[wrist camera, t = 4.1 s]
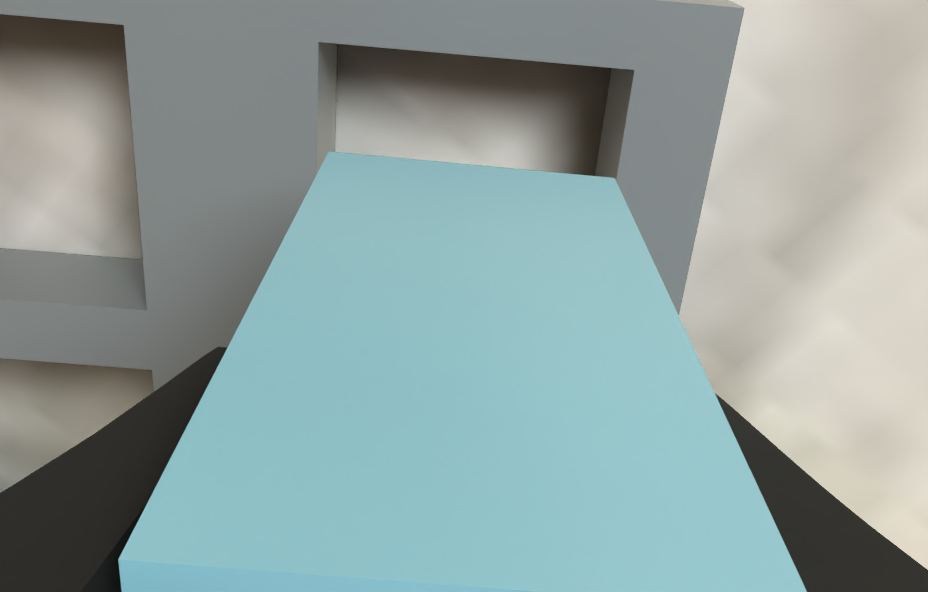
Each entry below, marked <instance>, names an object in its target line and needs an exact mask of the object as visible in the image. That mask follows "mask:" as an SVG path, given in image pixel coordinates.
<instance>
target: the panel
mask: <svg viewBox="0 0 928 592" xmlns="http://www.w3.org/2000/svg"><path fill="white" fill-rule="evenodd" d="M743 12H744V8H743V7H741V6H739V5H737V4H735V3H733V2H731V1H729V0H0V14H5V15H17V16H28V17H39V18H51V19H62V20H73V21H85V22H96V23H107V24H119V25H124V36H125V48H126V60H127V72H128V85H129V97H130V109H131V121H132V133H133V146H134V158H135V170H136V182H137V195H138V207H139V219H140V231H141V243H142V256H143V260H139V259H127V258H115V257H102V256H90V255H78V254H65V253H53V252H41V251H28V250H16V249H4V248H0V358H4V359H17V360H30V361H43V362H55V363H68V364H81V365H94V366H107V367H119V368H132V369H145V370H152V378H153V390H154V392H155V391H156V390H157V389H159V388H160V387H162V386H163V385H164V384H166V383H167V382H168V381H170V380H171V379H172V378H174V377H175V376H177V375H178V374H179V373H181V372H182V371H183V370H185V369H186V368H188V367H189V366H190V365H192V364H193V363H194V362H196V361H197V360H199V359H200V358H201V357H203V356H204V355H206V354H207V353H209V352H210V351H212V350H213V349H215V348H217V347H228V346H229V344H230V342H231V340H232V338H233V336H234V334H235V332H236V330H237V328H238V326H239V324H240V323H241V321H242V319H243V317H244V315H245V313H246V311H247V309H248V307H249V305H250V303H251V301H252V299H253V297H254V295H255V293H256V292H257V290H258V288H259V286H260V284H261V282H262V280H263V278H264V276H265V274H266V272H267V270H268V268H269V266H270V264H271V262H272V260H273V259H274V257H275V255H276V253H277V251H278V249H279V247H280V245H281V243H282V241H283V239H284V237H285V235H286V233H287V231H288V229H289V227H290V226H291V224H292V222H293V220H294V218H295V216H296V214H297V212H298V210H299V208H300V206H301V204H302V202H303V200H304V198H305V196H306V195H307V193H308V191H309V189H310V187H311V185H312V183H313V181H314V179H315V177H316V175H317V173H318V171H319V169H320V167H321V165H322V163H323V162H324V160H325V158H326V156H327V154H328V152H335V133H336V85H337V44H346V45H357V46H369V47H380V48H391V49H403V50H414V51H425V52H437V53H448V54H459V55H471V56H482V57H493V58H505V59H516V60H527V61H539V62H550V63H562V64H573V65H584V66H596V67H607V68H612V69H611V76H610V82H609V89H608V95H607V102H606V108H605V114H604V121H603V127H602V134H601V140H600V147H599V153H598V160H597V166H596V172H595V176H600V177H611V178H615V180H616V182H617V184H618V186H619V188H620V191H621V193H622V195H623V197H624V199H625V201H626V203H627V206H628V208H629V210H630V212H631V214H632V216H633V218H634V221H635V223H636V225H637V227H638V229H639V231H640V234H641V236H642V238H643V240H644V242H645V244H646V246H647V249H648V251H649V253H650V255H651V257H652V259H653V262H654V264H655V266H656V268H657V270H658V272H659V274H660V277H661V279H662V281H663V283H664V285H665V287H666V290H667V292H668V294H669V296H670V298H671V300H672V302H673V305H674V307H675V309H676V311H677V313H678V315H679V311H680V307H681V302H682V297H683V293H684V288H685V283H686V279H687V274H688V269H689V265H690V260H691V255H692V251H693V246H694V241H695V237H696V232H697V227H698V223H699V218H700V213H701V209H702V204H703V199H704V195H705V190H706V185H707V181H708V176H709V171H710V167H711V162H712V157H713V153H714V148H715V143H716V139H717V134H718V129H719V125H720V120H721V115H722V110H723V106H724V101H725V96H726V92H727V87H728V82H729V78H730V73H731V68H732V64H733V59H734V54H735V50H736V45H737V40H738V36H739V31H740V26H741V22H742V17H743Z"/></svg>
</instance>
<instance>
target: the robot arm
mask: <svg viewBox="0 0 928 592" xmlns="http://www.w3.org/2000/svg"><path fill="white" fill-rule="evenodd" d="M227 348H228V347H217V348H215V349H213V350H212V351H210V352H209V353H207V354H206V355H204V356H203V357H201V358H200V359H199V360H197V361H196V362H194V363H193V364H192V365H190V366H189V367H188V368H186V369H185V370H183V371H182V372H181V373H179V374H178V375H177V376H175V377H174V378H172V379H171V380H170V381H168V382H167V383H166V384H164V385H163V386H162V387H160V388H159V389H157V390H156V391H155V392H153V393H152V394H151V395H149V396H148V397H146V398H145V399H143V400H142V401H141V402H139V403H138V404H136V405H135V406H133V407H132V408H131V409H129V410H128V411H126V412H125V413H123V414H122V415H121V416H119V417H118V418H116V419H115V420H114V421H112V422H111V423H109V424H108V425H106V426H105V427H104V428H102V429H101V430H99V431H98V432H96V433H95V434H93V435H92V436H90V437H89V438H87V439H86V440H84V441H83V442H81V443H79V444H78V445H76V446H75V447H73V448H71V449H70V450H68V451H67V452H65V453H64V454H62V455H60V456H59V457H57V458H56V459H54V460H52V461H51V462H49V463H48V464H46V465H45V466H43V467H41V468H40V469H38V470H37V471H35V472H33V473H32V474H30V475H29V476H27V477H25V478H24V479H22V480H21V481H19V482H18V483H16V484H14V485H13V486H11V487H10V488H8V489H6V490H5V491H3V492H1V493H0V592H122V590H121V581H120V571H119V561H118V559H119V557H120V555H121V553H122V551H123V549H124V548H125V546H126V544H127V542H128V540H129V538H130V536H131V534H132V532H133V530H134V528H135V526H136V524H137V522H138V520H139V518H140V516H141V515H142V513H143V511H144V509H145V507H146V505H147V503H148V501H149V499H150V497H151V495H152V493H153V491H154V489H155V487H156V485H157V484H158V482H159V480H160V478H161V476H162V474H163V472H164V470H165V468H166V466H167V464H168V462H169V460H170V458H171V456H172V454H173V452H174V451H175V449H176V447H177V445H178V443H179V441H180V439H181V437H182V435H183V433H184V431H185V429H186V427H187V425H188V423H189V421H190V420H191V418H192V416H193V414H194V412H195V410H196V408H197V406H198V404H199V402H200V400H201V398H202V396H203V394H204V392H205V390H206V388H207V387H208V385H209V383H210V381H211V379H212V377H213V375H214V373H215V371H216V369H217V367H218V365H219V363H220V361H221V359H222V357H223V356H224V354H225V352H226V350H227ZM715 395H716V394H715ZM716 397H717V399H718V401H719V404H720V406H721V408H722V410H723V412H724V414H725V416H726V419H727V421H728V423H729V425H730V427H731V429H732V432H733V434H734V436H735V438H736V440H737V442H738V444H739V447H740V449H741V451H742V453H743V455H744V457H745V460H746V462H747V464H748V466H749V468H750V470H751V472H752V475H753V477H754V479H755V481H756V483H757V485H758V487H759V490H760V492H761V494H762V496H763V498H764V500H765V503H766V505H767V507H768V509H769V511H770V513H771V515H772V518H773V520H774V522H775V524H776V526H777V528H778V531H779V533H780V535H781V537H782V539H783V541H784V543H785V546H786V548H787V550H788V552H789V554H790V556H791V559H792V561H793V563H794V565H795V567H796V569H797V571H798V574H799V576H800V578H801V580H802V582H803V584H804V586H805V589H806V591H807V592H928V570H927V569H926V568H924V567H923V566H922V565H920V564H919V563H918V562H916V561H915V560H914V559H912V558H911V557H910V556H909V555H907V554H906V553H905V552H903V551H902V550H901V549H899V548H898V547H897V546H896V545H894V544H893V543H892V542H890V541H889V540H888V539H886V538H885V537H884V536H883V535H881V534H880V533H879V532H877V531H876V530H875V529H873V528H872V527H871V526H869V525H868V524H867V523H866V522H865V521H863V520H862V519H861V518H860V517H858V516H857V515H856V514H855V513H853V512H852V511H851V510H850V509H849V508H847V507H846V506H845V505H844V504H842V503H841V502H840V501H839V500H838V499H836V498H835V497H834V496H833V495H832V494H830V493H829V492H828V491H827V490H826V489H824V488H823V487H822V486H821V485H820V484H819V483H817V482H816V481H815V480H814V479H813V478H812V477H810V476H809V475H808V474H807V473H806V472H805V471H803V470H802V469H801V468H800V467H799V466H798V465H796V464H795V463H794V462H793V461H792V460H791V459H790V458H789V457H787V456H786V455H785V454H784V453H783V452H782V451H781V450H779V449H778V448H777V447H776V446H775V445H774V444H773V443H772V442H770V441H769V440H768V439H767V438H766V437H765V436H764V435H762V434H761V433H760V432H759V431H758V430H757V429H756V428H755V427H753V426H752V425H751V424H750V423H749V422H748V421H747V420H746V419H744V418H743V417H742V416H741V415H740V414H739V413H738V412H736V411H735V410H734V409H733V408H732V407H731V406H730V405H728V404H727V403H726V402H725V401H724V400H723V399H721V398H720V397H719V396H718V395H716Z"/></svg>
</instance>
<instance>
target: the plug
mask: <svg viewBox="0 0 928 592" xmlns="http://www.w3.org/2000/svg"><path fill="white" fill-rule="evenodd" d="M118 561H119V571H120V581H121V590H122V592H807V591H806V589H805V586H804V584H803V582H802V580H801V578H800V576H799V574H798V571H797V569H796V567H795V565H794V563H793V561H792V559H791V556H790V554H789V552H788V550H787V548H786V546H785V543H784V541H783V539H782V537H781V535H780V533H779V531H778V528H777V526H776V524H775V522H774V520H773V518H772V515H771V513H770V511H769V509H768V507H767V505H766V503H765V500H764V498H763V496H762V494H761V492H760V490H759V487H758V485H757V483H756V481H755V479H754V477H753V475H752V472H751V470H750V468H749V466H748V464H747V462H746V460H745V457H744V455H743V453H742V451H741V449H740V447H739V444H738V442H737V440H736V438H735V436H734V434H733V432H732V429H731V427H730V425H729V423H728V421H727V419H726V416H725V414H724V412H723V410H722V408H721V406H720V404H719V401H718V399H717V397H716V395H715V393H714V391H713V388H712V386H711V384H710V382H709V380H708V378H707V376H706V373H705V371H704V369H703V367H702V365H701V363H700V361H699V358H698V356H697V354H696V352H695V350H694V348H693V345H692V343H691V341H690V339H689V337H688V335H687V333H686V330H685V328H684V326H683V324H682V322H681V320H680V317H679V315H678V313H677V311H676V309H675V307H674V305H673V302H672V300H671V298H670V296H669V294H668V292H667V290H666V287H665V285H664V283H663V281H662V279H661V277H660V274H659V272H658V270H657V268H656V266H655V264H654V262H653V259H652V257H651V255H650V253H649V251H648V249H647V246H646V244H645V242H644V240H643V238H642V236H641V234H640V231H639V229H638V227H637V225H636V223H635V221H634V218H633V216H632V214H631V212H630V210H629V208H628V206H627V203H626V201H625V199H624V197H623V195H622V193H621V191H620V188H619V186H618V184H617V182H616V180H615V178H611V177H600V176H589V175H578V174H567V173H556V172H546V171H535V170H524V169H513V168H502V167H491V166H481V165H470V164H459V163H448V162H437V161H426V160H415V159H405V158H394V157H383V156H372V155H361V154H350V153H340V152H328V154H327V156H326V158H325V160H324V162H323V163H322V165H321V167H320V169H319V171H318V173H317V175H316V177H315V179H314V181H313V183H312V185H311V187H310V189H309V191H308V193H307V195H306V196H305V198H304V200H303V202H302V204H301V206H300V208H299V210H298V212H297V214H296V216H295V218H294V220H293V222H292V224H291V226H290V227H289V229H288V231H287V233H286V235H285V237H284V239H283V241H282V243H281V245H280V247H279V249H278V251H277V253H276V255H275V257H274V259H273V260H272V262H271V264H270V266H269V268H268V270H267V272H266V274H265V276H264V278H263V280H262V282H261V284H260V286H259V288H258V290H257V292H256V293H255V295H254V297H253V299H252V301H251V303H250V305H249V307H248V309H247V311H246V313H245V315H244V317H243V319H242V321H241V323H240V324H239V326H238V328H237V330H236V332H235V334H234V336H233V338H232V340H231V342H230V344H229V346H228V348H227V350H226V352H225V354H224V356H223V357H222V359H221V361H220V363H219V365H218V367H217V369H216V371H215V373H214V375H213V377H212V379H211V381H210V383H209V385H208V387H207V388H206V390H205V392H204V394H203V396H202V398H201V400H200V402H199V404H198V406H197V408H196V410H195V412H194V414H193V416H192V418H191V420H190V421H189V423H188V425H187V427H186V429H185V431H184V433H183V435H182V437H181V439H180V441H179V443H178V445H177V447H176V449H175V451H174V452H173V454H172V456H171V458H170V460H169V462H168V464H167V466H166V468H165V470H164V472H163V474H162V476H161V478H160V480H159V482H158V484H157V485H156V487H155V489H154V491H153V493H152V495H151V497H150V499H149V501H148V503H147V505H146V507H145V509H144V511H143V513H142V515H141V516H140V518H139V520H138V522H137V524H136V526H135V528H134V530H133V532H132V534H131V536H130V538H129V540H128V542H127V544H126V546H125V548H124V549H123V551H122V553H121V555H120V557H119V559H118Z"/></svg>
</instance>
